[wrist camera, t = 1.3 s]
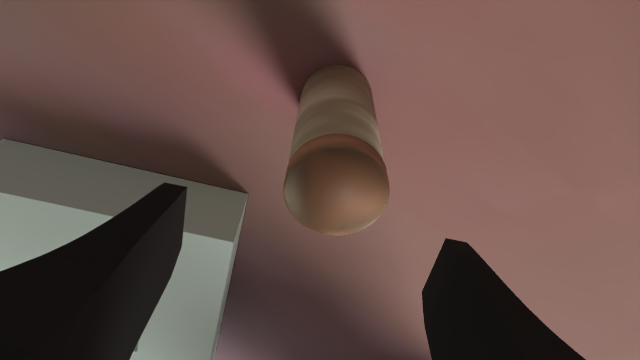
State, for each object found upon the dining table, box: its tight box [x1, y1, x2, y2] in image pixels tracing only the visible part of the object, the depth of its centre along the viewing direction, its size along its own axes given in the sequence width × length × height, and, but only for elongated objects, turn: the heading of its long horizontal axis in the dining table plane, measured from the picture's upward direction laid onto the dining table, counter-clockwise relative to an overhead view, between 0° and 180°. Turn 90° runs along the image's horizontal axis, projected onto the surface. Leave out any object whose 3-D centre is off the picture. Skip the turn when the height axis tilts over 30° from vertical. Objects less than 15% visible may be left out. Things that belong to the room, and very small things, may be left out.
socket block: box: [0, 139, 248, 360], centre depth 25 cm, size 12×12×4 cm
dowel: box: [284, 64, 389, 235], centre depth 18 cm, size 3×3×8 cm
